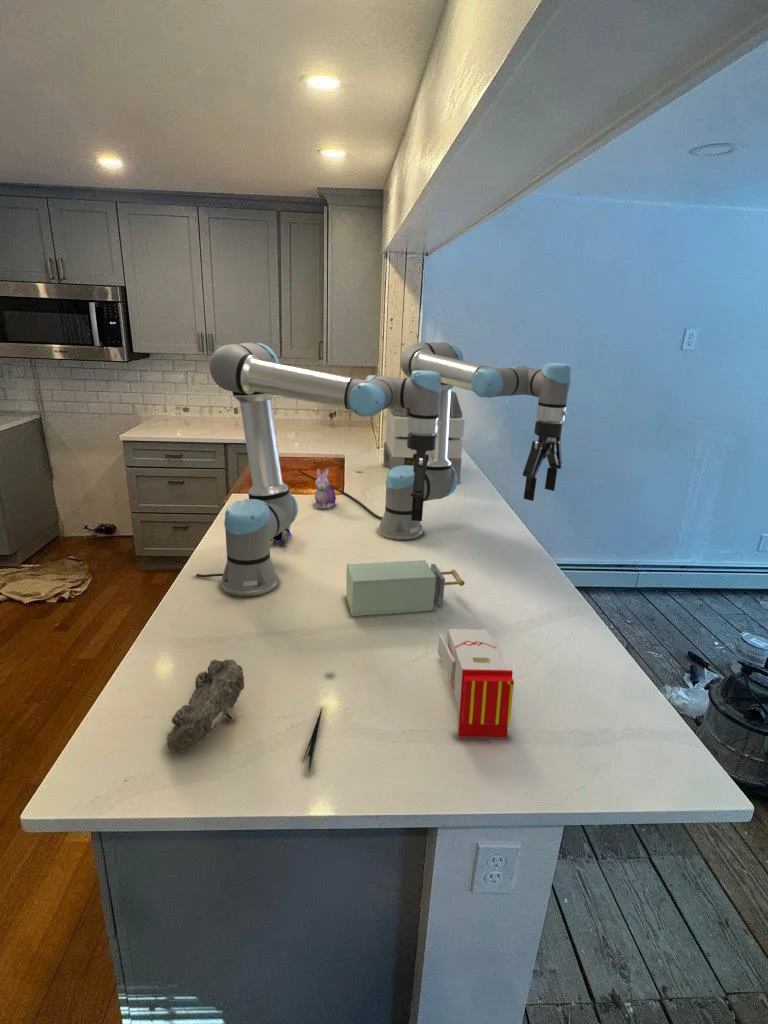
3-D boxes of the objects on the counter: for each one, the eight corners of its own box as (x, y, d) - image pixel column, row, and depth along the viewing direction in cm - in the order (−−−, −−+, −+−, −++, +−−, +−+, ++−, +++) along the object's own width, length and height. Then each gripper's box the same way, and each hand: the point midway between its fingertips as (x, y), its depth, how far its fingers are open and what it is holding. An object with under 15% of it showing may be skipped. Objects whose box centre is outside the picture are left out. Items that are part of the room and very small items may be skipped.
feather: (331, 679, 122) (336, 673, 122) (307, 777, 96) (313, 769, 95) (324, 675, 122) (329, 669, 121) (298, 772, 95) (304, 764, 95)
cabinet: (422, 592, 159) (424, 560, 156) (433, 610, 150) (435, 576, 147) (346, 597, 155) (346, 563, 151) (352, 616, 145) (353, 581, 142)
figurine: (318, 511, 218) (318, 473, 213) (309, 502, 226) (309, 466, 221) (341, 508, 222) (341, 471, 217) (331, 500, 231) (331, 464, 226)
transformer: (382, 463, 289) (386, 382, 275) (445, 464, 293) (451, 384, 279) (390, 482, 257) (394, 392, 243) (460, 483, 261) (468, 394, 247)
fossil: (192, 660, 117) (244, 628, 112) (224, 691, 120) (276, 661, 115) (142, 746, 98) (202, 712, 93) (182, 779, 101) (242, 748, 96)
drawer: (453, 588, 160) (455, 562, 158) (463, 603, 152) (466, 577, 149) (361, 593, 155) (362, 567, 152) (367, 610, 146) (368, 583, 144)
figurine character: (288, 552, 184) (293, 530, 198) (287, 531, 181) (293, 510, 194) (267, 551, 184) (274, 529, 197) (266, 530, 181) (273, 510, 194)
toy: (488, 613, 130) (523, 677, 101) (484, 667, 133) (517, 744, 104) (435, 612, 130) (455, 676, 101) (432, 666, 133) (451, 743, 103)
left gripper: (438, 445, 133) (431, 529, 140) (436, 424, 156) (430, 497, 163) (406, 443, 133) (401, 527, 140) (408, 423, 156) (404, 496, 164)
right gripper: (542, 429, 145) (531, 507, 152) (580, 418, 163) (569, 488, 170) (516, 424, 149) (506, 500, 157) (556, 414, 168) (546, 483, 175)
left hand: (416, 511), depth 152 cm, fingers open, 13 cm apart
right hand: (539, 494), depth 164 cm, fingers open, 13 cm apart
